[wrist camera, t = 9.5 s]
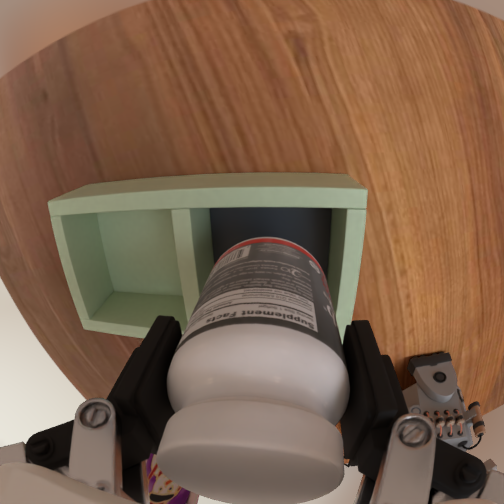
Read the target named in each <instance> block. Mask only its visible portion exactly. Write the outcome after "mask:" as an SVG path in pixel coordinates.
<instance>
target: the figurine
mask: <svg viewBox="0 0 504 504" xmlns="http://www.w3.org/2000/svg"><path fill="white" fill-rule="evenodd" d="M451 361H452V359H451V356H450V354H449V353H444V352H440V353H439V354H436V353H433V354H432V356H427V357H426V356H425V355H421V356H420V358H418V357H416V356H414V357H413V358H412V359H410V362H409V365H408V367H407V369H408V371H409V372H410V374H411V375H412V376H414V377H415V379H416V381H417V383H415V384H414V385H412V386H410V387H408V388H407V389H405V390H403V391H402V393H403V396H404V399H405V402H406V405H407V408H408V411H409V413H418V414H422V415H424V416H426V417H428V418H429V419H430V420H431V421H432V422H433V424H434V426H435V428H436V437H437V438H439V439H441V440H443V441H444V442H446V443H448V444H450V445H452V446H454V447H456V448H458V449H460V450H462V451H464V452H466V450H467V449H468V450H469V449H473V448H474V447H476V446H477V445H478V444H479V442H480V441H481V436H482V435H484V433H485V428H484V426H485V425H484V422H483V419H482V415H481V411H480V408H479V407H480V405H479V402H473V403H471V404H470V405H469V407H468V409H469V410H467V411H466V408H465V404H464V400H463V395H462V393H461V390H460V388H459V387H458V386H457V377H456V373H455V370H454V368H453V366H452V363H451ZM472 425H473V430H474V432H475V437H480V439H479V441H478V443H477V444H476V445H474V446H473V447H470V446H471V445H472V444H473V441H472V436H471V431H470V426H472ZM344 458H345V457H344ZM344 465H346V466H347V467H349V466H350V460H349V463H348V465H347V464H344ZM484 465H485V467H486V470H487V471H490V470H491V469H493V470H496V471H497V465H496V464H495V463H494V462H493V461H492V460H491V459H489V460H487V461H486V462H484Z"/></svg>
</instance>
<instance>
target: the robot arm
mask: <svg viewBox="0 0 504 504" xmlns="http://www.w3.org/2000/svg"><path fill="white" fill-rule="evenodd" d="M181 338H182V331H181V327H180V322H179V321H177V320H175V318H174V317H173V316H163V315H159V316H157V318H156V319H155V321H154V323H153V324H152V326H151V328H150V330H149V331H148V333H147V335H146V336H145V338H144V340H143V342H142V343H141V345H140V347H137V348H136V349H135V350H134V351H133V353H132V355H131V356H130V358H129V360H128V362H127V363H126V365H125V367H124V369H123V370H122V372H121V374H120V376H119V378H118V379H117V381H116V383H115V385H114V386H113V388H112V390H111V392H110V394H109V396H108V397H107V399H104V398H91V399H89V400H86V401H85V402H83V403H82V404H81V405H80V406H79V407H78V409H77V411H76V414H75V419H74V420H72V421H69V422H66V423H64V424H61V425H58V426H55V427H52V428H50V429H47V430H44V431H41V432H38V433H36V434H34V435H32V436H31V437H30V438H29V440H28V441H27V443H26V444H25V443H24V442H20V443H16V444H12V445H8V446H4V447H0V504H150V499H149V490H148V480H147V470H146V460H147V459H149V457H150V454H155V455H157V452H158V449H159V445H160V442H161V439H162V436H163V433H164V430H165V427H166V424H167V422H168V420H169V419H170V418H171V417H172V416H173V415H174V414H175V412H174V410H173V408H172V406H171V403H170V401H169V398H168V393H167V375H168V371H169V367H170V364H171V361H172V358H173V356H174V353H175V351H176V349H177V347H178V344H179V342H180V340H181ZM342 346H343V350H344V355H345V359H346V364H347V369H348V374H349V383H350V395H349V401H348V405H347V408H346V410H345V412H344V414H343V416H342V418H341V419H340V423H341V431H342V439H343V448H344V457H345V459H350V466H358V470H359V472H361V473H363V477H362V480H361V483H360V486H359V490H358V493H357V496H356V499H355V501H354V504H504V474H503V473H501V472H498V471H496V470H493V469H491V470H490V471H487V470H486V467H485V465H484V463H483V462H482V461H481V460H480V459H478V458H477V457H475V456H473V455H471V454H469V453H467V452H464V451H462V450H460V449H458V448H456V447H454V446H452V445H450V444H448V443H446V442H444V441H443V440H441V439H439V438H437V437H436V428H435V426H434V424H433V422H432V421H431V420H430V419H429V418H428V417H426V416H424V415H422V414H418V413H409V411H408V408H407V405H406V402H405V399H404V396H403V393H402V390H401V387H400V384H399V381H398V378H397V375H396V372H395V370H394V367H393V364H392V361H391V359H390V357H389V356H388V355H381V354H380V351H379V348H378V345H377V343H376V340H375V337H374V334H373V331H372V329H371V326H370V323H369V321H368V320H355V321H352V322H351V325H346V328H345V334H344V339H343V344H342Z"/></svg>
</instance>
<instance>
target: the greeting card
mask: <svg viewBox="0 0 504 504" xmlns="http://www.w3.org/2000/svg"><path fill="white" fill-rule="evenodd" d="M156 456H157V455H155V454H150V457H149V459H147V460H146V470H147V480H148V490H149V499H150V504H197V502H198V497H199V495H198V494H195V493H193V492H191V491H189V490H186V489H184V488H183V487H181V486H179V485H177V484H176V483H174V482H173V481H172V480H170V479H169V478H168V477H166V476H165V475H164V474H163V473H162V471H161V470H160V469H159V467H158V465H157V459H156Z"/></svg>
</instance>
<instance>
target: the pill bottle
mask: <svg viewBox="0 0 504 504" xmlns="http://www.w3.org/2000/svg"><path fill="white" fill-rule="evenodd" d="M167 393H168V398H169V401H170V403H171V406H172V408H173V410H174V412H175V414H174V415H173V416H172V417H171V418H170V419H169V420H168V422H167V424H166V427H165V430H164V433H163V436H162V439H161V442H160V445H159V449H158V452H157V456H156V459H157V465H158V467H159V469H160V470H161V471H162V473H163V474H164V475H165V476H166V477H168V478H169V479H170V480H172V481H173V482H174V483H176V484H177V485H179V486H181V487H183V488H184V489H186V490H189V491H191V492H193V493H195V494H198V495H201V496H204V497H207V498H210V499H214V500H218V501H222V502H226V503H232V504H297V503H302V502H306V501H310V500H313V499H316V498H319V497H321V496H324V495H326V494H328V493H330V492H331V491H333V490H334V489H336V488H337V487H338V486H339V485H340V484H341V482H342V480H343V477H344V456H343V439H342V436H341V434H340V432H339V431H338V429H337V428H336V427H335V426H336V424H337V423H338V422H339V421H340V419H341V418H342V416H343V414H344V412H345V410H346V408H347V405H348V401H349V395H350V383H349V374H348V369H347V364H346V359H345V355H344V350H343V346H342V342H341V337H340V333H339V329H338V325H337V321H336V316H335V312H334V308H333V304H332V300H331V296H330V293H329V288H328V285H327V281H326V278H325V275H324V273H323V271H322V269H321V267H320V265H319V263H318V262H317V261H316V259H315V258H314V257H313V256H312V255H311V254H310V253H309V252H308V251H307V250H305V249H304V248H303V247H301V246H299V245H297V244H296V243H293V242H291V241H288V240H285V239H282V238H276V237H258V238H252V239H248V240H245V241H242V242H240V243H238V244H236V245H234V246H233V247H231V248H230V249H229V250H227V251H226V252H225V253H224V254H223V255H222V256H221V257H220V258H219V260H218V261H217V262H216V264H215V265H214V267H213V269H212V271H211V273H210V275H209V277H208V280H207V282H206V284H205V286H204V288H203V290H202V293H201V295H200V297H199V299H198V302H197V304H196V306H195V308H194V310H193V313H192V315H191V317H190V319H189V322H188V324H187V326H186V329H185V331H184V333H183V335H182V338H181V340H180V342H179V344H178V347H177V349H176V351H175V353H174V356H173V358H172V361H171V364H170V367H169V371H168V375H167Z"/></svg>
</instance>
